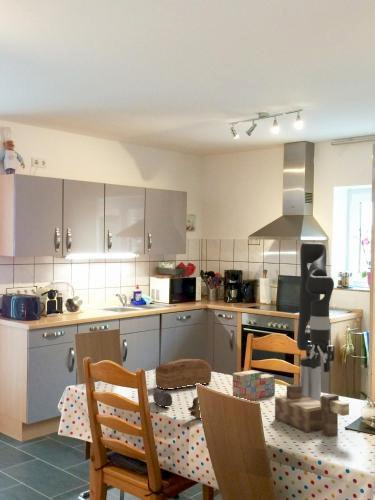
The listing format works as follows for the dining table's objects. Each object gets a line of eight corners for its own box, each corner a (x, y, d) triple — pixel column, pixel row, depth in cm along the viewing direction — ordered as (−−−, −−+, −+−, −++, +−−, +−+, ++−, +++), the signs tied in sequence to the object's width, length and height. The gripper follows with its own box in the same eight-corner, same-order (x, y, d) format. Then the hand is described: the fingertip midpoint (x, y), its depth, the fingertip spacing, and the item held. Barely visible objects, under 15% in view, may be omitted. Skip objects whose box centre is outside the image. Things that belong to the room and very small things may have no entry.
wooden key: (320, 407, 214) (320, 397, 214) (326, 406, 216) (326, 396, 216) (342, 415, 204) (342, 404, 204) (348, 414, 205) (348, 403, 205)
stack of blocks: (266, 392, 276) (266, 367, 276) (275, 395, 271) (275, 369, 270) (232, 398, 264) (232, 372, 264) (240, 401, 259) (240, 375, 259)
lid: (275, 399, 232) (275, 384, 232) (297, 396, 238) (297, 381, 238) (306, 412, 214) (306, 396, 214) (330, 407, 220) (330, 392, 220)
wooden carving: (209, 412, 242) (209, 389, 242) (218, 414, 239) (218, 390, 239) (185, 421, 229) (185, 396, 229) (194, 423, 226) (194, 398, 226)
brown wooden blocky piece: (274, 419, 232) (274, 383, 232) (297, 415, 237) (297, 379, 237) (320, 438, 208) (320, 398, 207) (344, 433, 213) (344, 394, 213)
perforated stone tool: (149, 401, 258) (149, 387, 258) (160, 400, 261) (160, 385, 261) (162, 410, 245) (162, 394, 245) (173, 408, 247) (173, 393, 247)
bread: (151, 387, 286) (151, 361, 286) (201, 379, 302) (201, 355, 302) (163, 392, 276) (163, 365, 276) (214, 384, 292) (214, 358, 292)
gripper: (340, 329, 212) (340, 372, 212) (314, 324, 225) (314, 365, 225) (325, 330, 208) (325, 374, 208) (300, 326, 221) (300, 367, 221)
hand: (319, 370), depth 217 cm, fingers open, 6 cm apart
